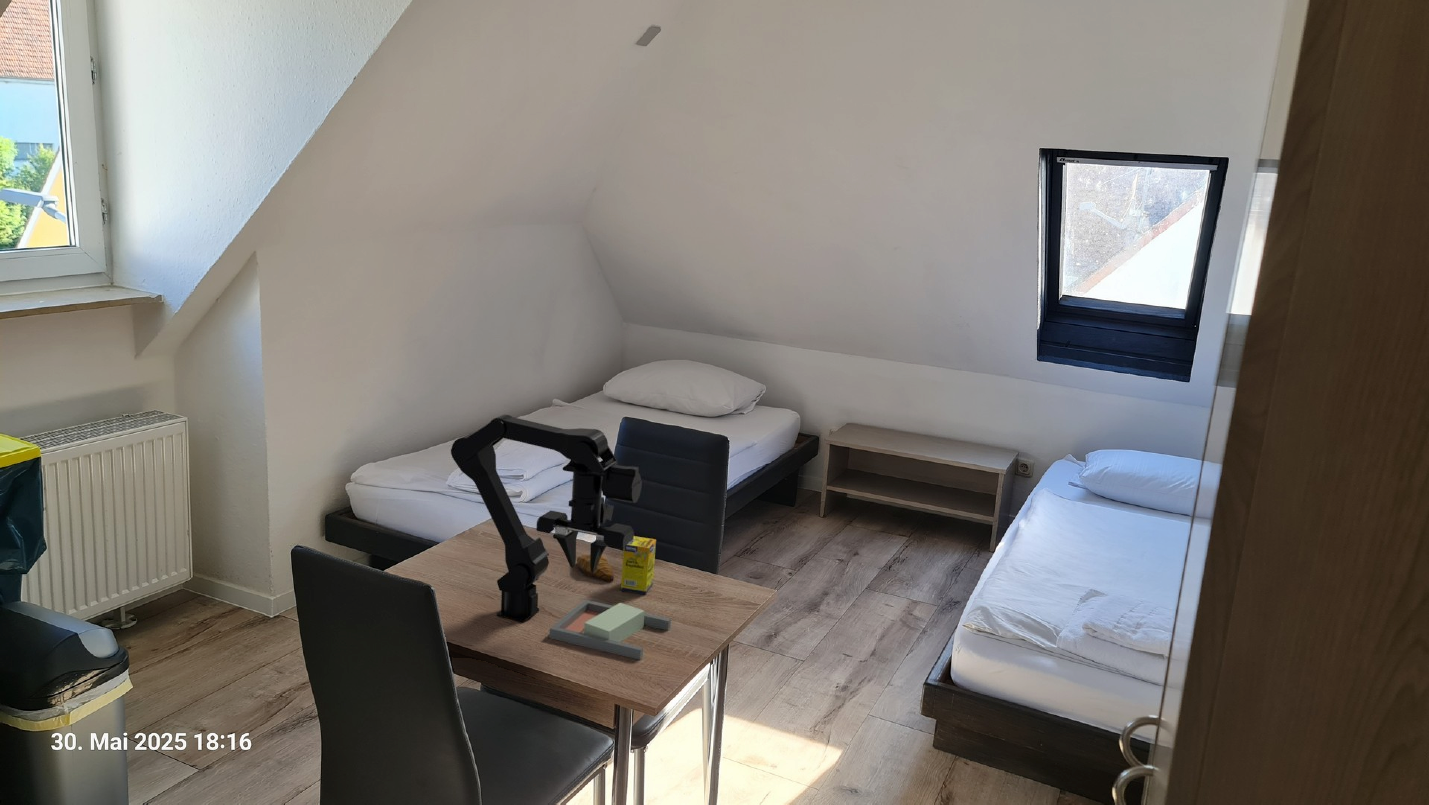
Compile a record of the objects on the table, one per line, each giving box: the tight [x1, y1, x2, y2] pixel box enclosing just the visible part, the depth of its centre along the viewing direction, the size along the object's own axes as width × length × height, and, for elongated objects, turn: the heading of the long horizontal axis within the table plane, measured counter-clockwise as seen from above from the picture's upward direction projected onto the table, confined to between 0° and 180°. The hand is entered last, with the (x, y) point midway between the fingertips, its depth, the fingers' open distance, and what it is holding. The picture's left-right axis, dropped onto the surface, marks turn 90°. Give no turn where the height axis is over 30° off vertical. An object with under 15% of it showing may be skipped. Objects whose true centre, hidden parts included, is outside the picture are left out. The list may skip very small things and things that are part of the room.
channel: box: [548, 599, 672, 661], centre depth 196 cm, size 19×15×2 cm
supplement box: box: [620, 535, 657, 595], centre depth 218 cm, size 6×6×11 cm
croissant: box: [576, 554, 615, 583], centre depth 225 cm, size 14×7×5 cm, turn 40°
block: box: [583, 602, 646, 642], centre depth 196 cm, size 6×12×4 cm, turn 150°
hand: (582, 569), depth 196 cm, fingers open, 4 cm apart
